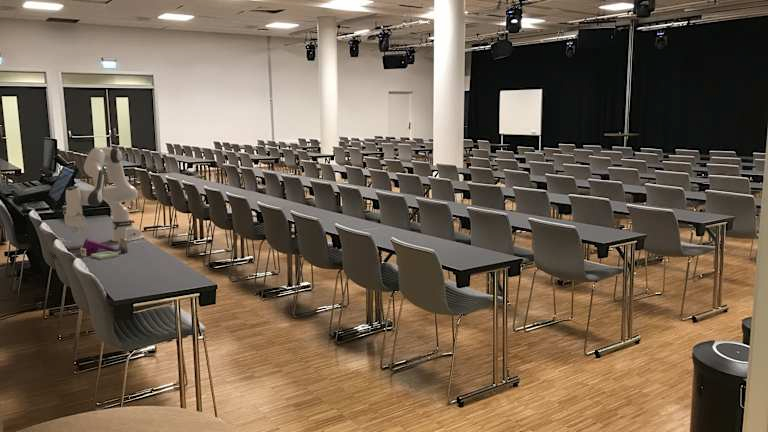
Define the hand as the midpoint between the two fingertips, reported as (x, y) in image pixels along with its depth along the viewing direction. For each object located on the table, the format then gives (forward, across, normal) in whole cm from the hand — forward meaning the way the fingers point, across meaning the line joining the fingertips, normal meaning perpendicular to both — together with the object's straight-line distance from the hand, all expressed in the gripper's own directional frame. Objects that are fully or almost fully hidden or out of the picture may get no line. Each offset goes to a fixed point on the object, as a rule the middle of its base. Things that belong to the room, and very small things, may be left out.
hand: (76, 233), depth 406 cm
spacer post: (+15, -12, -25) cm, 31 cm away
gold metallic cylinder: (+15, 0, -31) cm, 34 cm away
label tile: (+15, 0, -4) cm, 16 cm away
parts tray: (+15, -12, -11) cm, 22 cm away
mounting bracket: (+16, +2, -15) cm, 22 cm away
